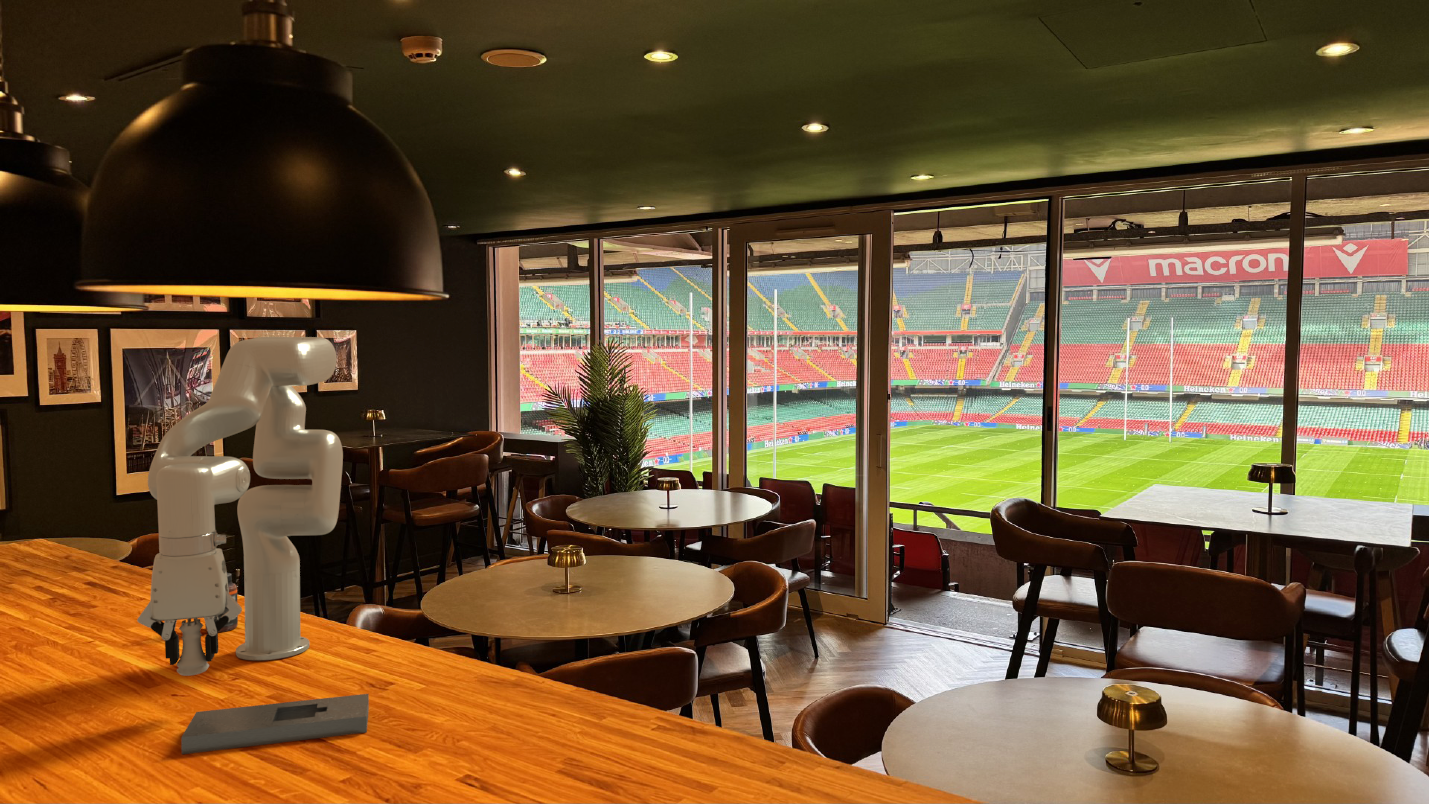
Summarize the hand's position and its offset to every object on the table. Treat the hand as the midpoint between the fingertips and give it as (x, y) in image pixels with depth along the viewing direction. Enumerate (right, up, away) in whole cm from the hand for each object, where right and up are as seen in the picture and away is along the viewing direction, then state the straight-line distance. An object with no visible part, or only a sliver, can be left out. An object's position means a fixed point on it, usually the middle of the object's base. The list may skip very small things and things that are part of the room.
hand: (192, 659), depth 141 cm
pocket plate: (+17, -9, -6) cm, 20 cm away
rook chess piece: (0, -2, 0) cm, 2 cm away
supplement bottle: (-21, -7, +47) cm, 52 cm away
